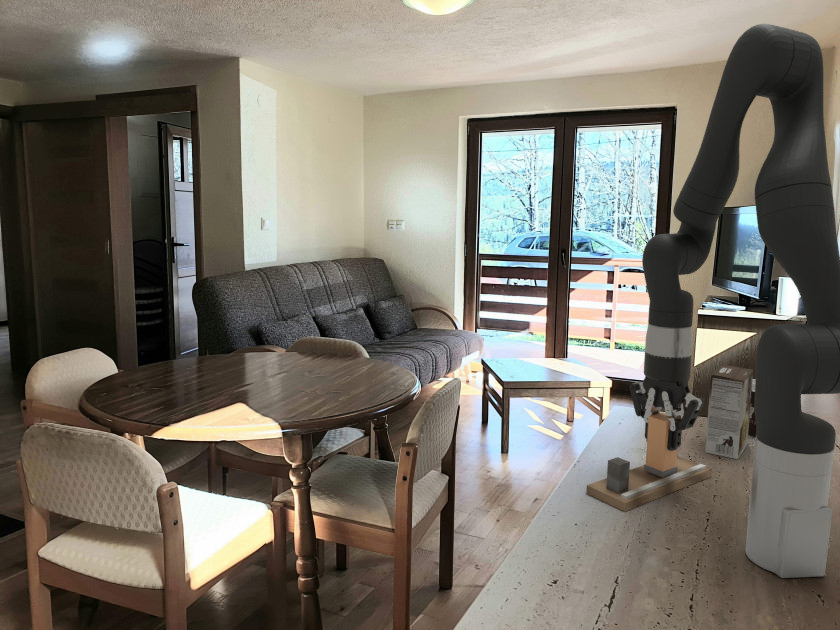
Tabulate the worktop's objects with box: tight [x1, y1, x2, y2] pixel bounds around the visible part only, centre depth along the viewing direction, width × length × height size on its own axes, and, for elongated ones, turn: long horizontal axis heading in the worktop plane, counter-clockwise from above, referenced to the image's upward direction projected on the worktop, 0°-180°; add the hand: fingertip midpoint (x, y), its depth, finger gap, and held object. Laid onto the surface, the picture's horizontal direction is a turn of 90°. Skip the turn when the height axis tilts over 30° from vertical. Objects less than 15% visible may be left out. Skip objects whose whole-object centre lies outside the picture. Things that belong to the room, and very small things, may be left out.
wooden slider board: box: [585, 455, 713, 512], centre depth 115 cm, size 24×8×6 cm, turn 124°
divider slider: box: [643, 412, 678, 478], centre depth 116 cm, size 4×4×10 cm
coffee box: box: [704, 364, 754, 460], centre depth 130 cm, size 9×6×16 cm
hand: (661, 445), depth 116 cm, fingers closed on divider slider, 3 cm apart
